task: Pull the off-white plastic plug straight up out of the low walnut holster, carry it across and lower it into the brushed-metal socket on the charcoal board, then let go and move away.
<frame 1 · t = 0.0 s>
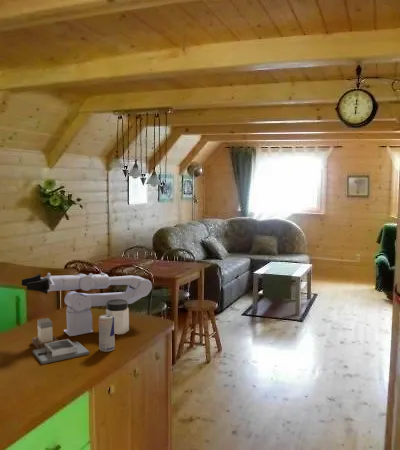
hand: (24, 284, 171), 22 cm above the worktop, tool horizontal, fingers open, 7 cm apart
energy drink: (107, 349, 166), on the worktop
holster: (45, 344, 171), on the worktop
jar: (117, 331, 185), on the worktop, touching arm
socket board: (60, 353, 162), on the worktop
plug: (45, 332, 170), in the holster
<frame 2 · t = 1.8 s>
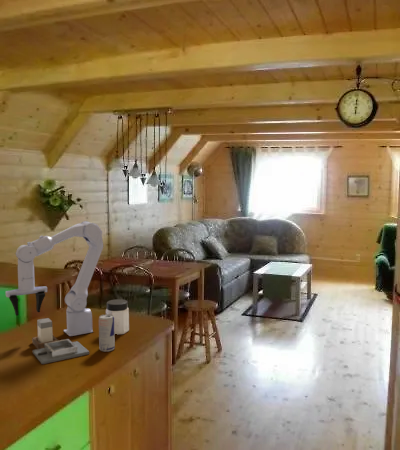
hand: (27, 313, 174), 10 cm above the worktop, tool pointing down, fingers open, 7 cm apart
jar: (117, 331, 185), on the worktop
everything else where it was.
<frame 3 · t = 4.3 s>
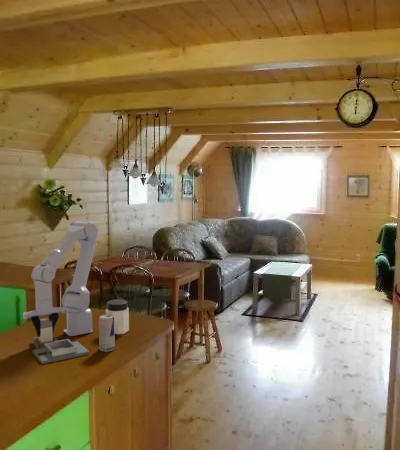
hand: (45, 334, 170), 4 cm above the worktop, tool pointing down, fingers closed on plug, 4 cm apart
plug: (45, 332, 170), in the holster, touching gripper
everything else where it was.
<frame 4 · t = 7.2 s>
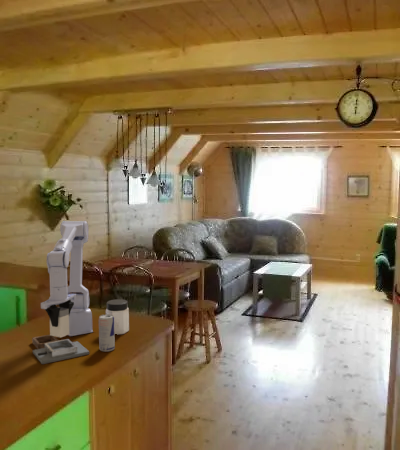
hand: (59, 324, 161), 10 cm above the worktop, tool pointing down, fingers closed on plug, 4 cm apart
plug: (59, 322, 161), point 11 cm above the worktop, touching gripper
everything else where it was.
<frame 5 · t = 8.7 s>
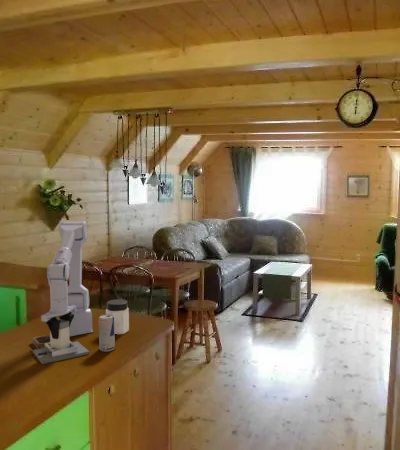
hand: (60, 336, 161), 6 cm above the worktop, tool pointing down, fingers closed on plug, 4 cm apart
plug: (59, 334, 161), point 7 cm above the worktop, touching gripper
everything else where it was.
when the fingers open (5 cm above the worktop, at t = 10.0 s): plug stays where it is, resting on socket board.
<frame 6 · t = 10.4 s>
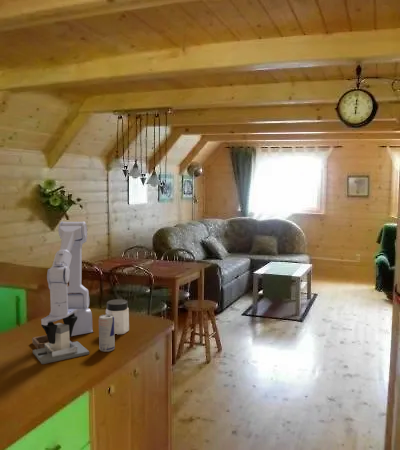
hand: (60, 339, 161), 5 cm above the worktop, tool pointing down, fingers open, 7 cm apart
plug: (59, 338, 161), in the socket board, point 6 cm above the worktop
everything else where it was.
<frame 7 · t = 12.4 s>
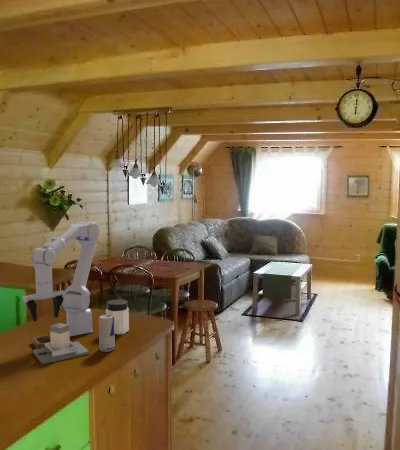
hand: (45, 318, 167), 10 cm above the worktop, tool pointing down, fingers open, 7 cm apart
nothing on the worktop moved.
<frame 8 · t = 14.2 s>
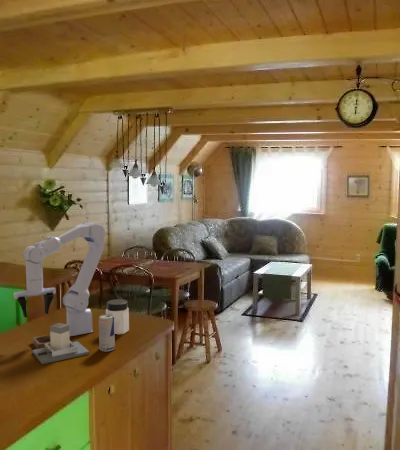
hand: (36, 314, 172), 10 cm above the worktop, tool pointing down, fingers open, 7 cm apart
nothing on the worktop moved.
at the end: plug 0.2 cm off-centre on the socket board, point 5.5 cm above the socket board's base; plug tilted 0°; the gripper is holding nothing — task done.
